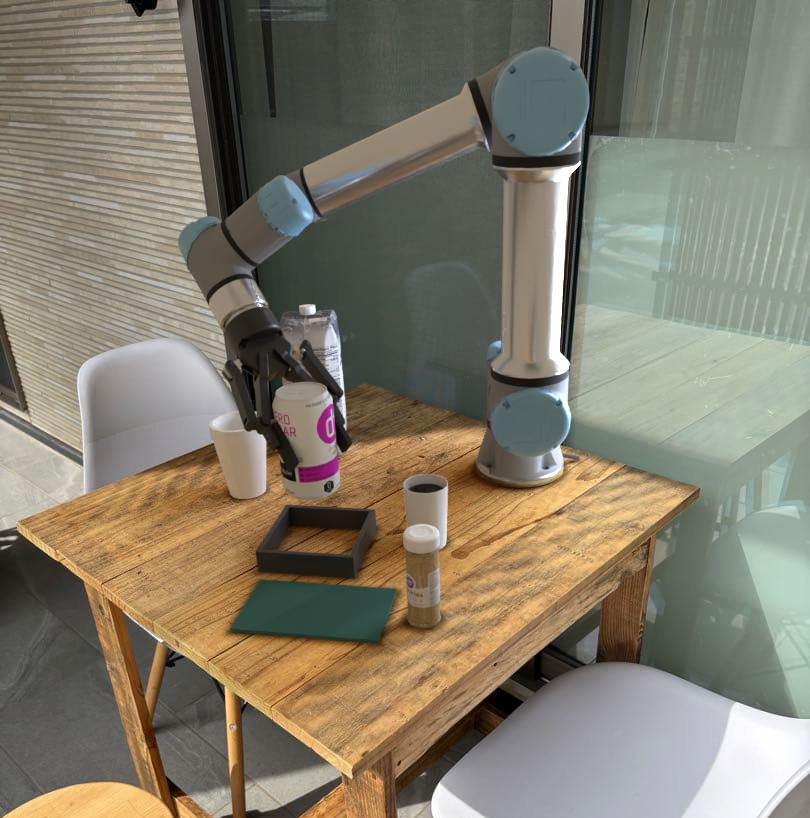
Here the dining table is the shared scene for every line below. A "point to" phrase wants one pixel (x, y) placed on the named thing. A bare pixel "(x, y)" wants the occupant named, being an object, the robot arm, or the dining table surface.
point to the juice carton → (317, 342)
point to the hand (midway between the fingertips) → (321, 457)
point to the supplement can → (308, 439)
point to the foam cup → (240, 455)
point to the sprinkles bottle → (422, 575)
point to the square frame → (310, 561)
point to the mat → (316, 611)
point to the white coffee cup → (427, 502)
